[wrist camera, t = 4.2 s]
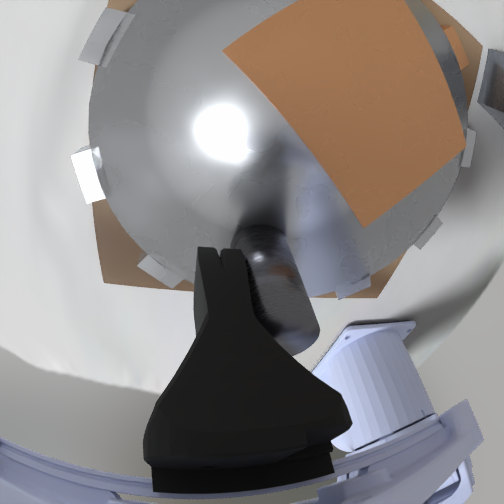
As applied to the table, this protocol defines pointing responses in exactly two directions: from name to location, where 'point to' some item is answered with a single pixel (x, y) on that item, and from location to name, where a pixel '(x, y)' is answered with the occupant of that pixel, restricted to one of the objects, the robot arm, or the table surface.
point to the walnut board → (128, 273)
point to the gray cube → (493, 86)
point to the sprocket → (276, 140)
